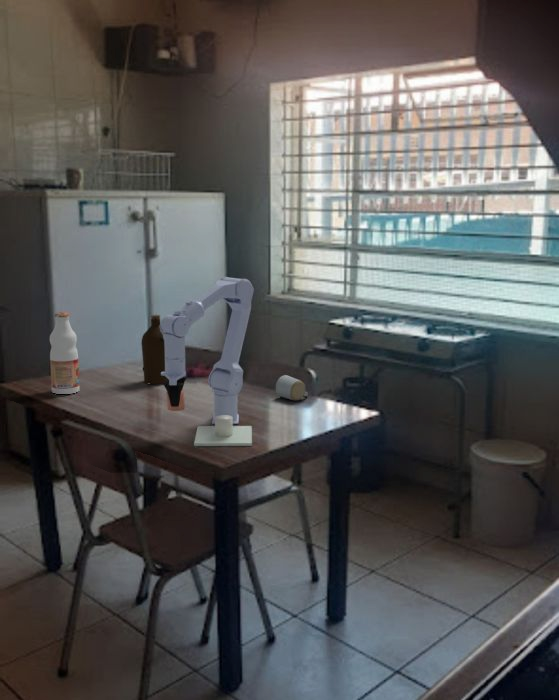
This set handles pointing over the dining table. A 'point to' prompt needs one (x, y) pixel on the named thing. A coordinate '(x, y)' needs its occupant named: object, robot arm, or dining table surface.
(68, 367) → the fruit juice
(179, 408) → the pink rounded piece
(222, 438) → the baseplate
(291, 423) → the dining table surface
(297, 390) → the ceramic mug
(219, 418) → the off-white rounded cylinder
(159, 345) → the olive oil
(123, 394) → the dining table surface
